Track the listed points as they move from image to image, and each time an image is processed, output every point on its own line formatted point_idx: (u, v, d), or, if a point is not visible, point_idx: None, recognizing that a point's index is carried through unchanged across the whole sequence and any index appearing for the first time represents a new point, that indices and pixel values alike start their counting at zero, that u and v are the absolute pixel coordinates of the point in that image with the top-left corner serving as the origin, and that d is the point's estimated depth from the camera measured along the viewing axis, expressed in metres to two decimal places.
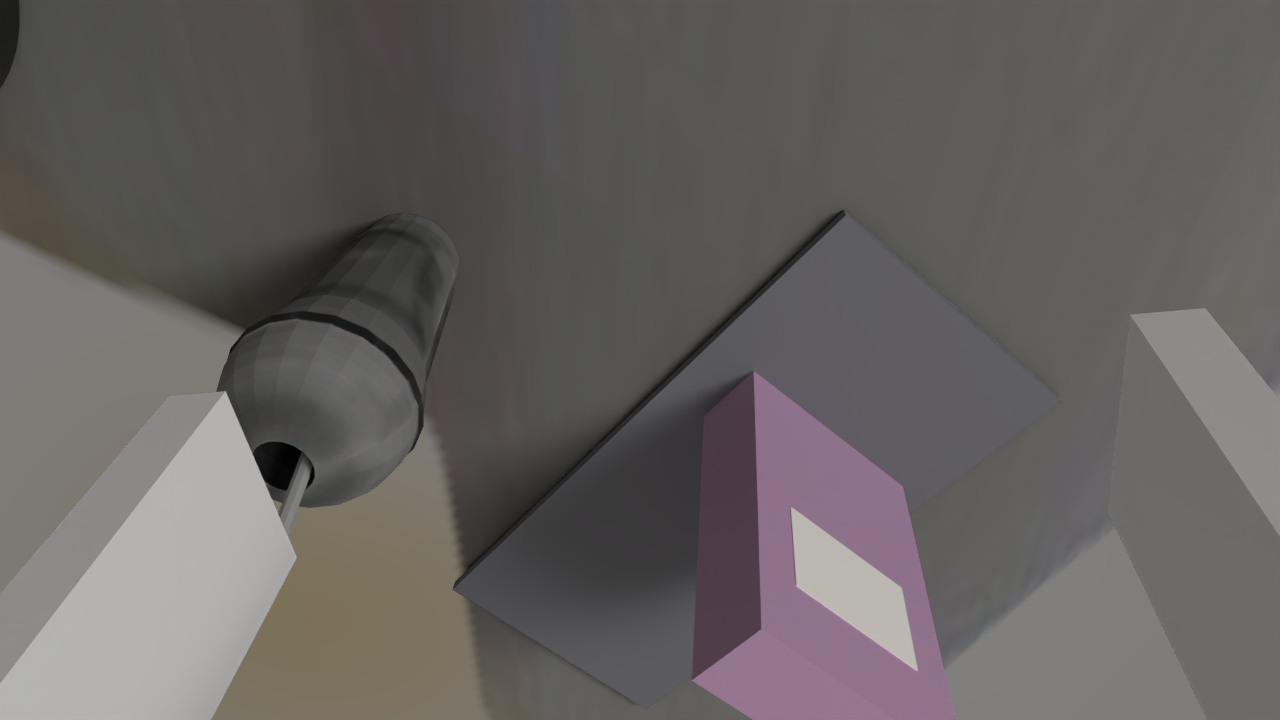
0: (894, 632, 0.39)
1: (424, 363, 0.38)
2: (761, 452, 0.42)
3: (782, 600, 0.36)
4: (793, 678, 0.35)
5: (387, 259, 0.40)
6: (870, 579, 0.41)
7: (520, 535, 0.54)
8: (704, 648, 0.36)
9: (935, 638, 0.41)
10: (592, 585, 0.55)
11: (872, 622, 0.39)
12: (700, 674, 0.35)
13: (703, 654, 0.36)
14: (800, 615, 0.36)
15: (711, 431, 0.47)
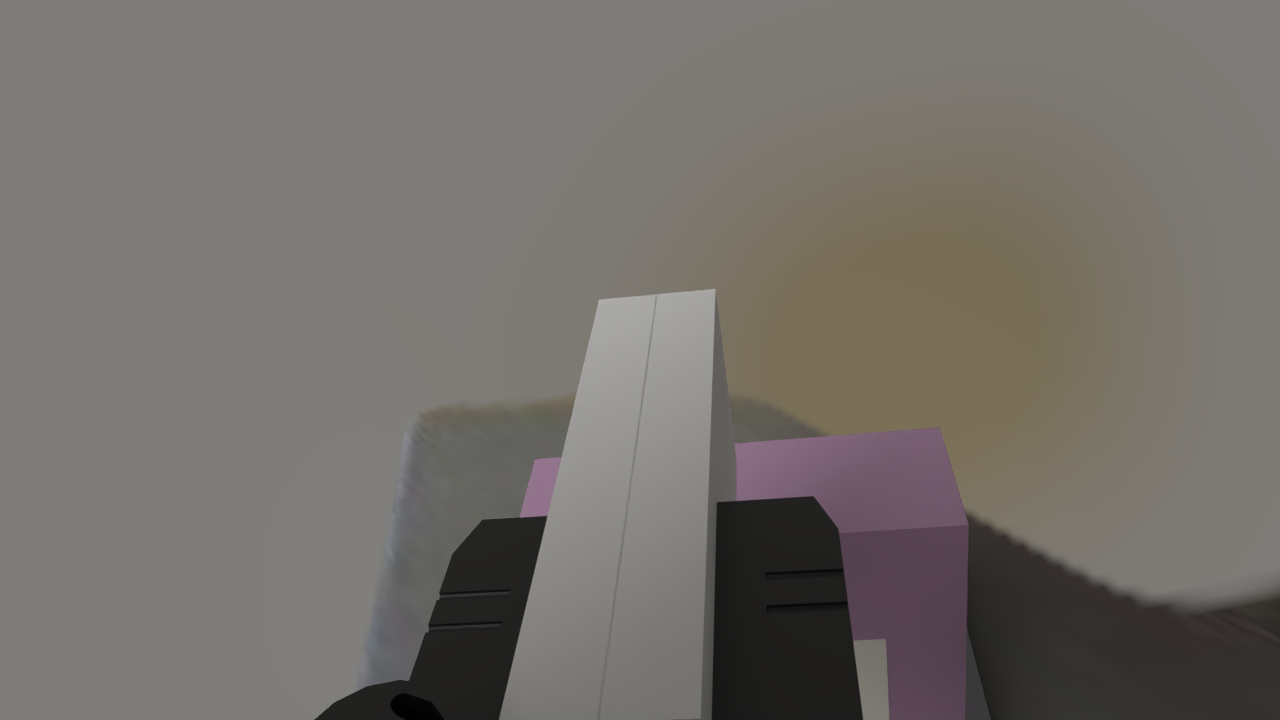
0: None
1: None
2: None
3: (917, 598, 0.23)
4: (846, 502, 0.23)
5: None
6: None
7: None
8: None
9: None
10: None
11: None
12: (942, 437, 0.24)
13: None
14: (876, 596, 0.23)
15: None
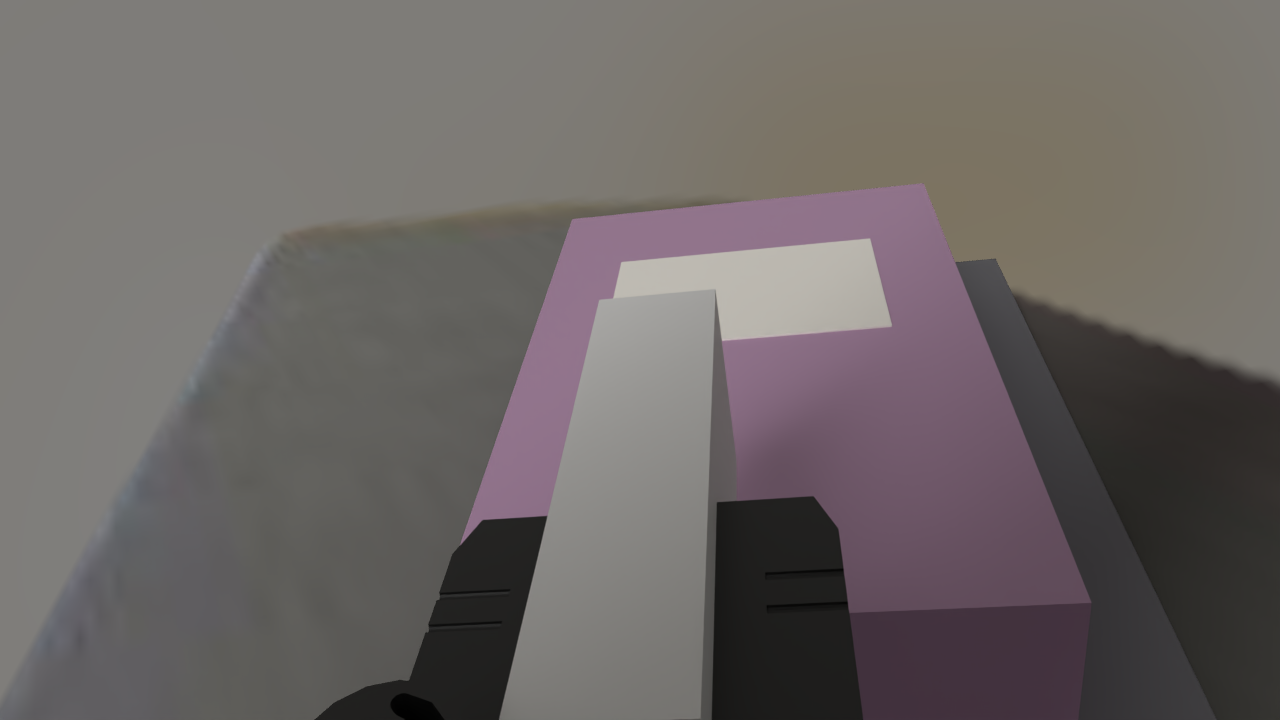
0: (657, 280, 0.25)
1: None
2: (983, 378, 0.20)
3: (892, 217, 0.27)
4: None
5: None
6: None
7: (1025, 360, 0.26)
8: None
9: (542, 319, 0.25)
10: None
11: (705, 272, 0.25)
12: None
13: None
14: (858, 218, 0.27)
15: None
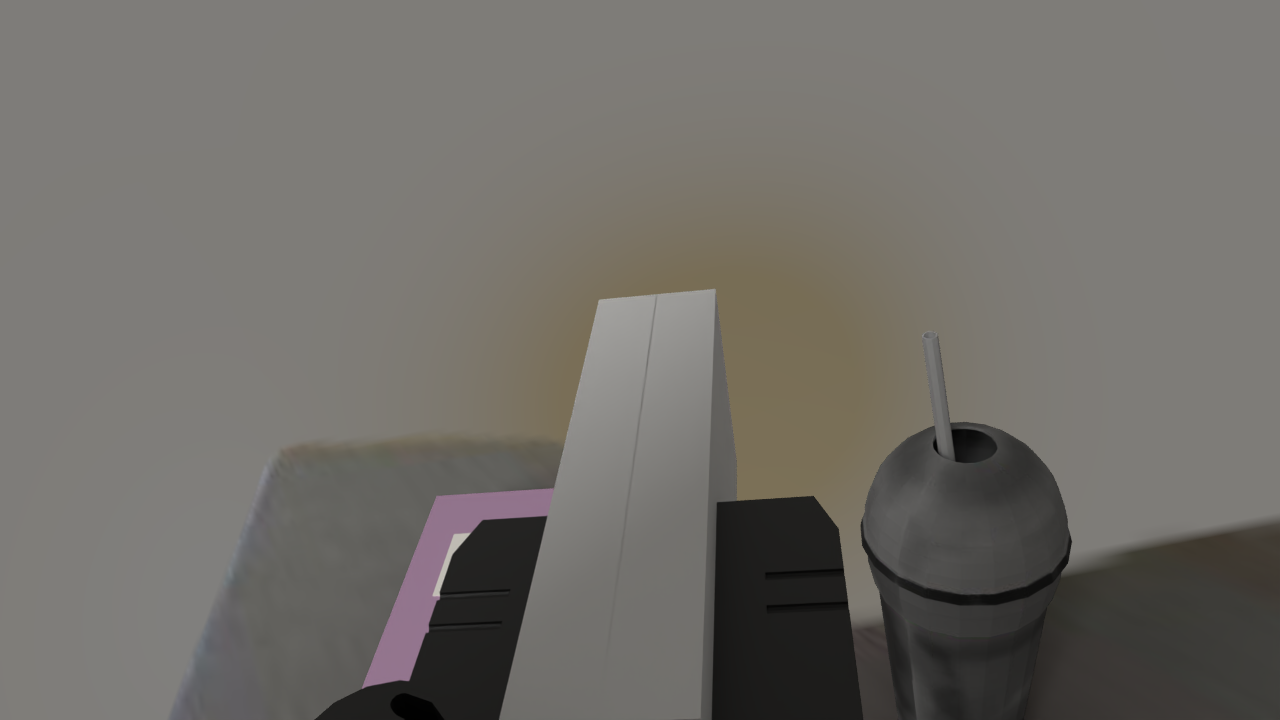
0: None
1: (908, 625, 0.36)
2: None
3: None
4: None
5: (1000, 702, 0.38)
6: None
7: None
8: None
9: (409, 573, 0.50)
10: None
11: None
12: None
13: None
14: None
15: None
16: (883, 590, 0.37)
